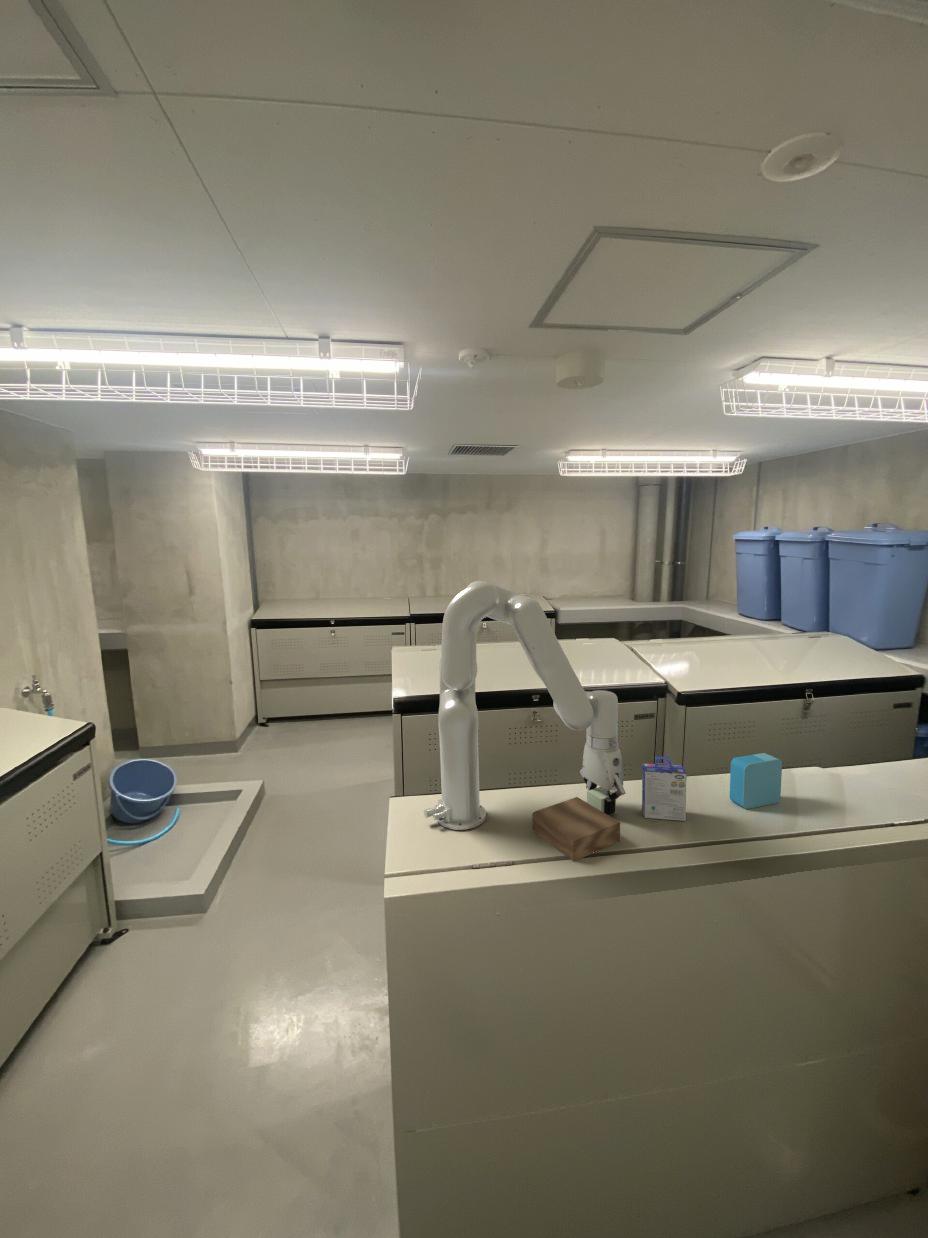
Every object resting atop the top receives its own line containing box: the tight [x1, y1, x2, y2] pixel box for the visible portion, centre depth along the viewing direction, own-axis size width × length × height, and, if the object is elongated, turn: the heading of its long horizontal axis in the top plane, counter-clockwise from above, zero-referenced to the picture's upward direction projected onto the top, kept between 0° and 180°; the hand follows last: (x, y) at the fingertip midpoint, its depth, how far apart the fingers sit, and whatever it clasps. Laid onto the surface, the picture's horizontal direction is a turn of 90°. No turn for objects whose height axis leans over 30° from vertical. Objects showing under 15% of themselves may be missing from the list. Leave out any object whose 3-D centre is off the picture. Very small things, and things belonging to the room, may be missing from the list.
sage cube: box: [586, 786, 617, 816], centre depth 120 cm, size 5×5×5 cm
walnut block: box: [532, 796, 621, 862], centre depth 110 cm, size 14×14×5 cm
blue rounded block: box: [729, 752, 783, 810], centre depth 122 cm, size 12×4×12 cm, turn 105°
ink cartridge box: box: [641, 755, 688, 822], centre depth 118 cm, size 10×6×14 cm, turn 78°
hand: (601, 808), depth 121 cm, fingers closed on sage cube, 5 cm apart
